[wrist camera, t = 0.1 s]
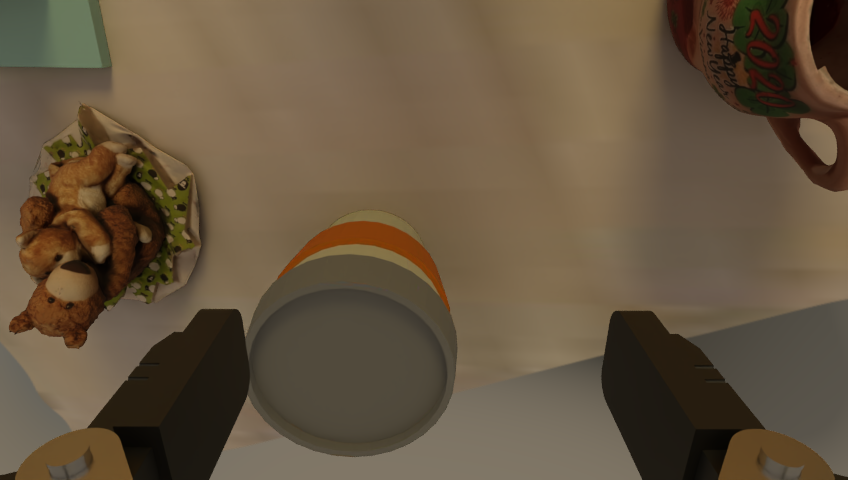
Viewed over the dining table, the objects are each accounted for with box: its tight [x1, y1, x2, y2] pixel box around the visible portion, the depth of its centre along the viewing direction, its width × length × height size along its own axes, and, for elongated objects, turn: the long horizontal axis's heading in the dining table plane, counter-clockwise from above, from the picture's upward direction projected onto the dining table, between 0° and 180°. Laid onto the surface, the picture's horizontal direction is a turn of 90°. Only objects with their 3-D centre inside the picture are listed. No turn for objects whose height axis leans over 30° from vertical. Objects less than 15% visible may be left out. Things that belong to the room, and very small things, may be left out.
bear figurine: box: [9, 103, 202, 349], centre depth 37 cm, size 14×15×12 cm
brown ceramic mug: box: [667, 0, 848, 192], centre depth 30 cm, size 20×12×14 cm, turn 22°
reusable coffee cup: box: [245, 210, 457, 457], centre depth 37 cm, size 13×12×15 cm
